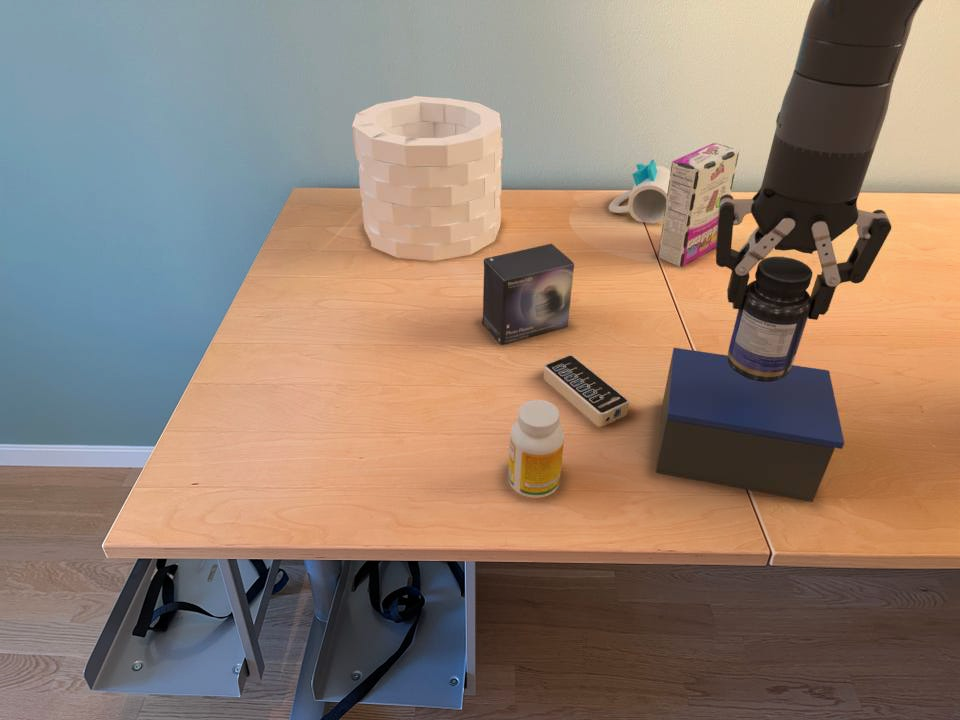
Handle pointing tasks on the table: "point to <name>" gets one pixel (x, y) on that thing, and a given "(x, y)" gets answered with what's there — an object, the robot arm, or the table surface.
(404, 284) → the table surface
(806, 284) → the pill bottle
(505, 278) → the small box
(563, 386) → the multiport hub
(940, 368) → the table surface
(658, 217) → the mug
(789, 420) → the storage lid
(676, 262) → the candy bar box
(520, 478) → the supplement bottle
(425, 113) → the basket
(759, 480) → the storage box
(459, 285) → the table surface
